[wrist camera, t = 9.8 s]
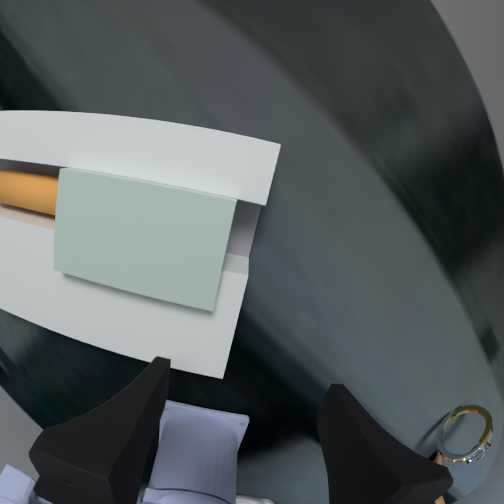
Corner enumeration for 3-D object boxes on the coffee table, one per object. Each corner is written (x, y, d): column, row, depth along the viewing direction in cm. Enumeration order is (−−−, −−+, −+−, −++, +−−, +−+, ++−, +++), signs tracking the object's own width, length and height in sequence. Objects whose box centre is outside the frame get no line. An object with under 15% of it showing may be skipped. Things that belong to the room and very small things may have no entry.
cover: (214, 303, 17) (212, 311, 16) (61, 264, 17) (53, 269, 16) (237, 199, 16) (236, 201, 15) (69, 167, 15) (59, 168, 14)
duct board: (225, 348, 23) (222, 378, 20) (5, 283, 21) (-17, 299, 18) (275, 145, 18) (280, 144, 15) (10, 112, 17) (-18, 111, 13)
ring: (474, 388, 26) (506, 433, 18) (475, 402, 27) (503, 444, 19) (425, 421, 27) (450, 471, 19) (428, 432, 28) (451, 480, 20)
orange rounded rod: (117, 185, 16) (130, 192, 19) (-13, 165, 15) (5, 170, 18) (107, 228, 16) (121, 229, 19) (-21, 198, 16) (-2, 201, 18)
